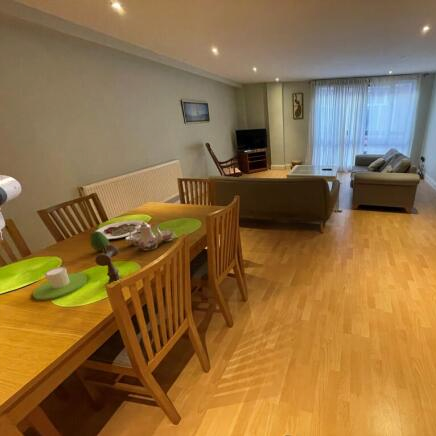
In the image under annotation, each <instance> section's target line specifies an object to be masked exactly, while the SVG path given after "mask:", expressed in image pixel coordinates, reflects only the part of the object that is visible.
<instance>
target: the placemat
mask: <svg viewBox="0 0 436 436" xmlns="http://www.w3.org/2000/svg"><path fill="white" fill-rule="evenodd" d="M67 274H68V278H69V283H68V284H67V285H66V286H64V287H61V288H53V287H52V285H51V284H50V282H49V281H48V280H47V281H44V282H43V283H42V284H39V286H37V287H36V288H35V289H34V290H33V292H32V296H33V298H34V299H35V300H37V301H49V300H55V299H59V298H62V297H65V296H67V295H69V294H71V293H73V292H75V291H77V290H79V289H80V288H82V287H83V286H84V285H85V284H86V283H87V281H88V276H87V275H86V274H85V273H83V272H72V273H67Z"/></svg>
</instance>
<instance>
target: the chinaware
mask: <svg viewBox="0 0 436 436" xmlns="http://www.w3.org/2000/svg"><path fill="white" fill-rule="evenodd" d="M145 222H146V221H144V222H143V223H142V225H140V226H139V227H138V228H139V229H138V230H137V233H135V234H131V232H132V231H133V230H136V229H133V230H131V231H130V235H129V236H126V237H125V239H124V241H123V243H124V244H125V245H129V244H130V245H133V246H139V248H140V249H141V250H142V251H145V252H146V251H153V250H155V249H157V248H158V247H159V244H160V243H161V242H162V240H164V241H165V242H170V241H172V240H173V239H174V240H175V239H176V238H177V234H175V230H174V229H171V230H170V229H165V230H162V231H160V230H159V228H158V227H159V223H156V224H155V226H154V230H155V233H156V235H155V234H154V233H153V231H152V224H150V223H147V222H146V223H145ZM138 231H140V232H138ZM125 241H128V243H127V242H125Z"/></svg>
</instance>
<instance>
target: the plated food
mask: <svg viewBox="0 0 436 436" xmlns="http://www.w3.org/2000/svg"><path fill="white" fill-rule="evenodd" d="M143 222H145V223H147V222H146V221H144V220H139V219H132V220H131V219H129V220H124V221H117V222H113V223H110V224H107V225H105V226H101V227H100V228H98V229H97V230H95V231H94V232H96V231H98V232H101V233H102V234H103V235H105V236H106V238H107V239H108V240H116V239H121V238H126V237H128V236H129V235H130V231H131V230H133V229H136V230H133V231H132V232H131V234H137V233H141V232H140V231H138V232H137V230H138V229H139V228H138V227H139V226H140V225H142V223H143Z"/></svg>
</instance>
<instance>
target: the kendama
mask: <svg viewBox="0 0 436 436" xmlns="http://www.w3.org/2000/svg"><path fill="white" fill-rule="evenodd" d="M102 246H103V251H102V254H98V255H97V256H96V257H95V263H96V264H97V265H98V266H100V267H106V266H107V273H106V276H107V277H109V279H108V283H109V284H111V282H113V281H117V280H119V279H121V278H122V279H123V277H122V276H121V275H120V273H119V269H117V268H116V267H115V265H114V264H113V262H112V257H116V256H117V255H118V254H119V249H118V247H117V246H115V245H113V244H109V245H107V246H105V245H104V243H102ZM122 279H121V280H122Z"/></svg>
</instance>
